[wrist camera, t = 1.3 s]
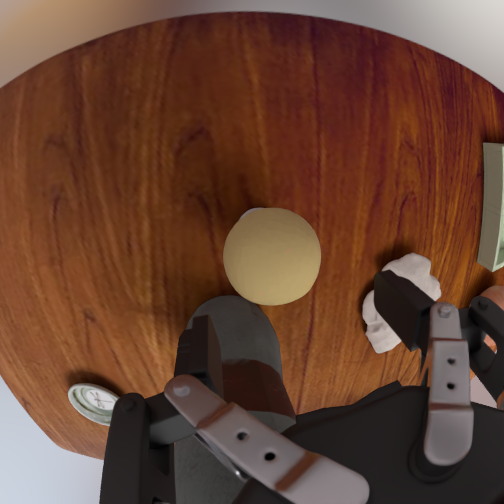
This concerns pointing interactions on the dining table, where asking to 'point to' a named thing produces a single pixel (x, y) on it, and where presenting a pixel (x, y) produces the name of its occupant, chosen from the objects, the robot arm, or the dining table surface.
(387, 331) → the decorative stone
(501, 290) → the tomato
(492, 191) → the grid
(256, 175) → the dining table surface
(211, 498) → the bottle
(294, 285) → the light bulb
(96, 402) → the saucer
